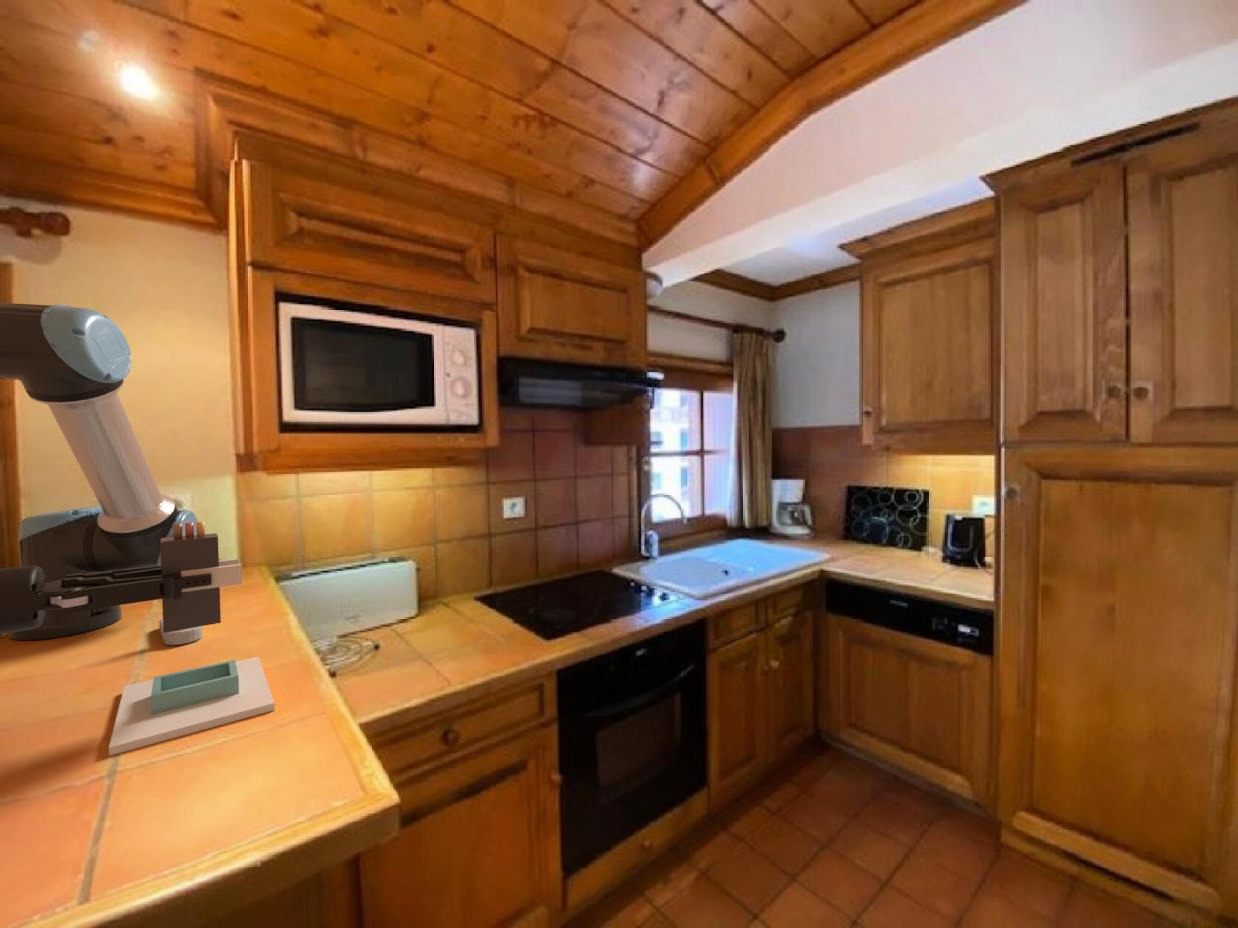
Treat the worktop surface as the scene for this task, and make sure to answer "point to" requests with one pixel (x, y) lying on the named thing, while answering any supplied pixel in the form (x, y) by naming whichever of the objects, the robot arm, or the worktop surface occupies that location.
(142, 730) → the header board
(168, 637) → the electronic device
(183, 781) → the worktop surface
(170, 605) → the block
